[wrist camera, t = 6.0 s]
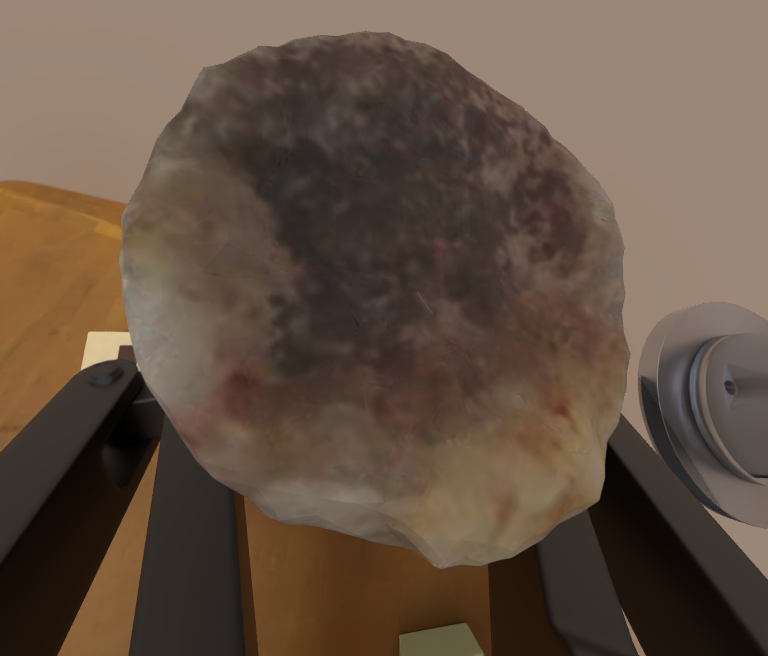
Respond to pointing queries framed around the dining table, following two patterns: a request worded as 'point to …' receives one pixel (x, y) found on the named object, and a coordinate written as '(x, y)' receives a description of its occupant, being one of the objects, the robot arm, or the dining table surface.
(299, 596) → the dining table surface
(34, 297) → the dining table surface
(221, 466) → the brown rough cylinder
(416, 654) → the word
